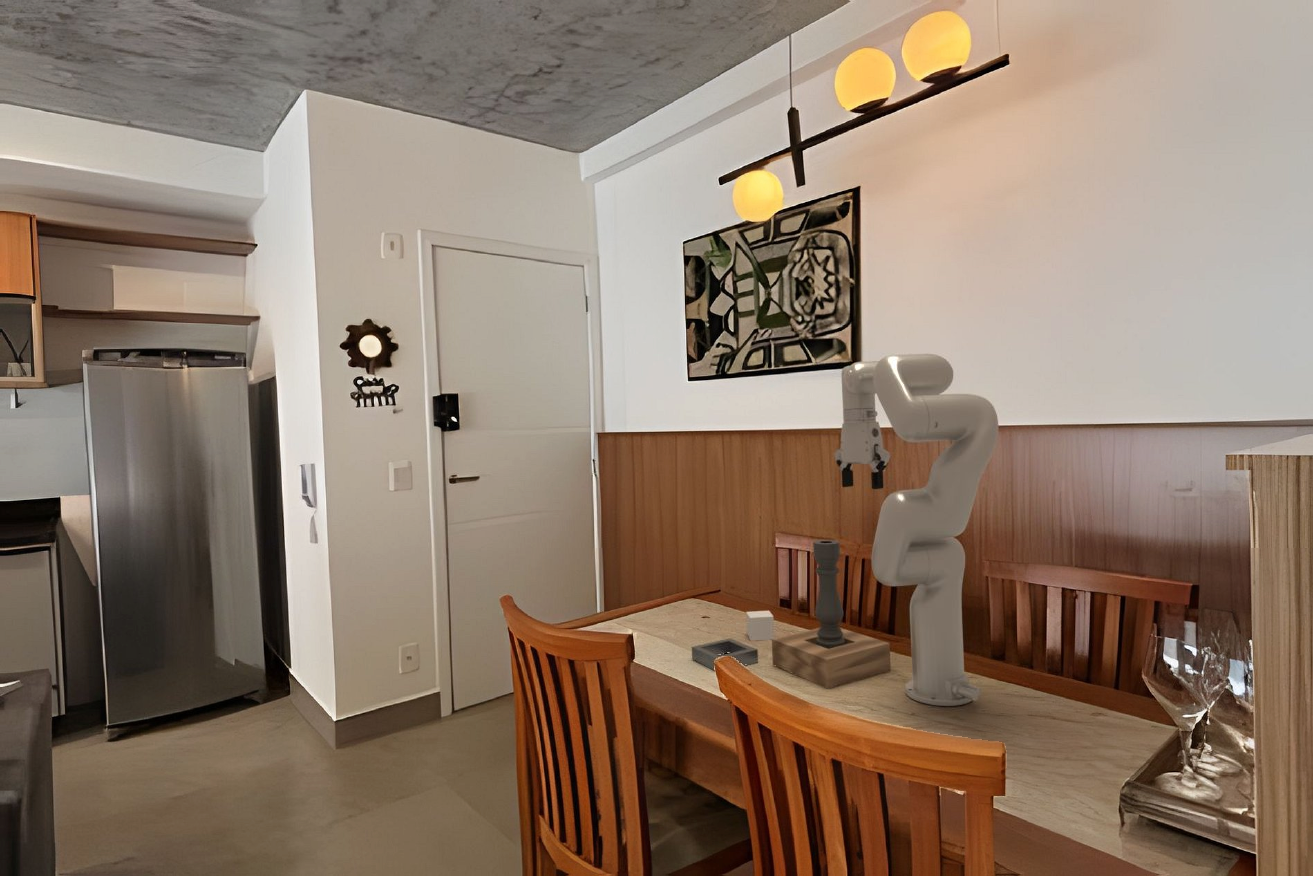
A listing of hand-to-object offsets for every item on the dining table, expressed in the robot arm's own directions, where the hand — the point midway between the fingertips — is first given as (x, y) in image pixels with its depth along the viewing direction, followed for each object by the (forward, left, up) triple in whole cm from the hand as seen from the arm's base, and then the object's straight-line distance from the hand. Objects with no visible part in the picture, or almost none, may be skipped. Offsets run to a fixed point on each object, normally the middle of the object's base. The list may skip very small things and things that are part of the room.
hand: (862, 487), depth 172 cm
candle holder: (-6, +18, -36) cm, 40 cm away
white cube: (+22, +16, -39) cm, 47 cm away
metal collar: (+12, +34, -38) cm, 53 cm away
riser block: (-6, +18, -38) cm, 43 cm away
